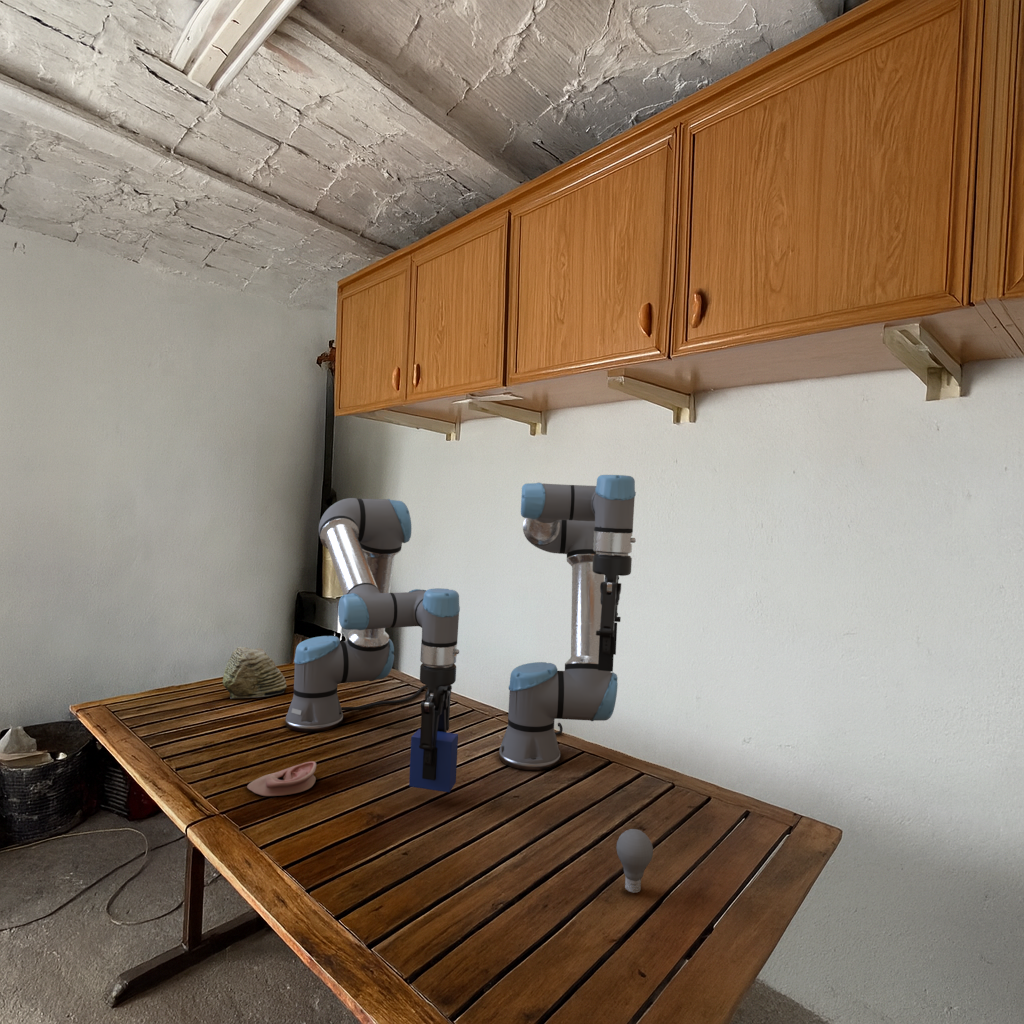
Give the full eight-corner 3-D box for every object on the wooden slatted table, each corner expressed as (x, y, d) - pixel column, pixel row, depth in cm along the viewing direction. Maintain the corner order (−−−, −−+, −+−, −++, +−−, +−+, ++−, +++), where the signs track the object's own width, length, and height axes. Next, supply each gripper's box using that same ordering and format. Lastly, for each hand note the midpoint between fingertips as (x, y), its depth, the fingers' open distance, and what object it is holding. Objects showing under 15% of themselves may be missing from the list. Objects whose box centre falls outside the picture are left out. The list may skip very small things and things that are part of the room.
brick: (408, 786, 132) (411, 736, 132) (416, 776, 137) (418, 728, 136) (449, 792, 130) (451, 742, 130) (455, 782, 135) (458, 733, 135)
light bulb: (610, 879, 108) (613, 822, 108) (644, 879, 109) (647, 822, 109) (619, 902, 102) (622, 840, 102) (655, 901, 103) (658, 840, 103)
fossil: (218, 695, 195) (220, 647, 195) (278, 685, 208) (279, 640, 207) (228, 703, 189) (230, 653, 188) (289, 692, 201) (290, 645, 201)
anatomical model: (239, 773, 134) (270, 753, 145) (238, 792, 134) (269, 770, 145) (296, 782, 131) (323, 760, 142) (295, 801, 131) (323, 777, 142)
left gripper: (442, 677, 123) (436, 794, 124) (467, 655, 141) (462, 758, 141) (406, 673, 125) (400, 789, 125) (435, 651, 142) (430, 754, 143)
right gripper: (630, 560, 111) (625, 680, 111) (632, 550, 135) (628, 649, 136) (587, 557, 112) (582, 676, 113) (597, 548, 137) (592, 646, 137)
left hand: (433, 772), depth 133 cm, fingers closed on brick, 5 cm apart
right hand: (607, 661), depth 124 cm, fingers open, 13 cm apart
